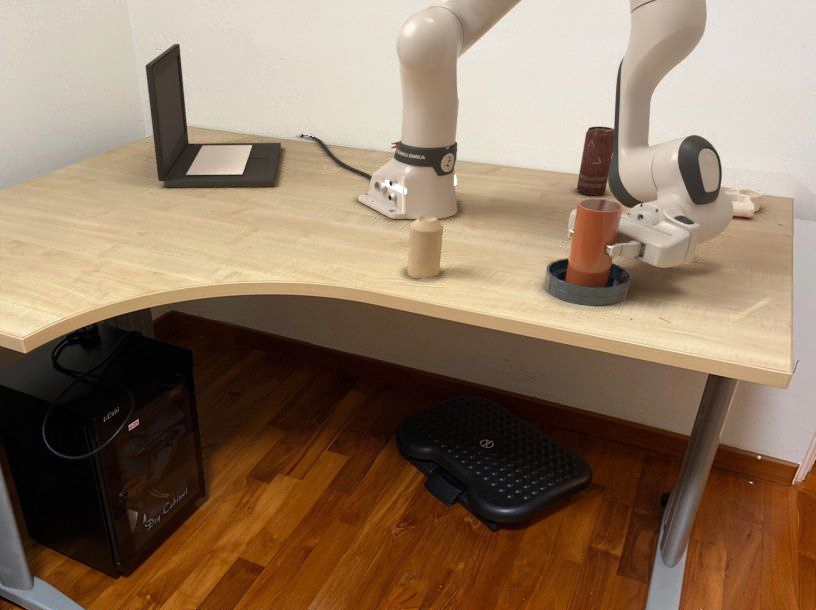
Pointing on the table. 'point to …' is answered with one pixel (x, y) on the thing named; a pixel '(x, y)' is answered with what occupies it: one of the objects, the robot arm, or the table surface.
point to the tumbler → (593, 242)
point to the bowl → (586, 295)
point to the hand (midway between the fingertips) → (589, 243)
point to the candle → (425, 247)
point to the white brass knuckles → (743, 200)
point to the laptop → (198, 161)
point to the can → (596, 161)
